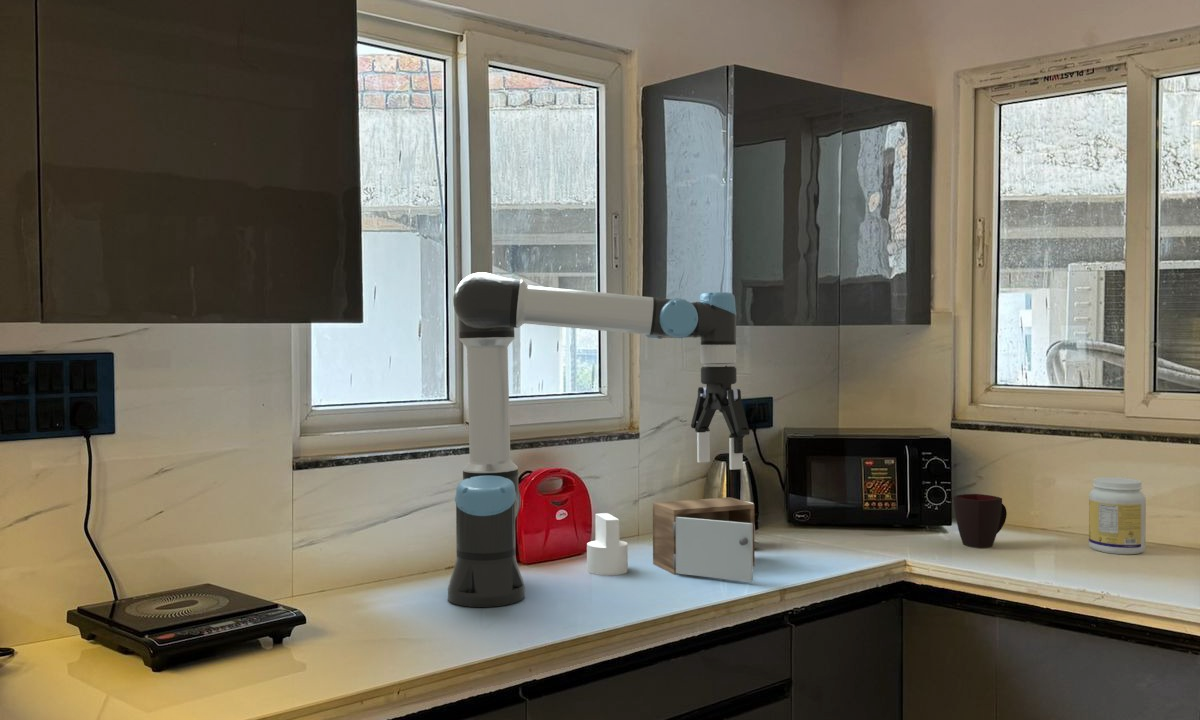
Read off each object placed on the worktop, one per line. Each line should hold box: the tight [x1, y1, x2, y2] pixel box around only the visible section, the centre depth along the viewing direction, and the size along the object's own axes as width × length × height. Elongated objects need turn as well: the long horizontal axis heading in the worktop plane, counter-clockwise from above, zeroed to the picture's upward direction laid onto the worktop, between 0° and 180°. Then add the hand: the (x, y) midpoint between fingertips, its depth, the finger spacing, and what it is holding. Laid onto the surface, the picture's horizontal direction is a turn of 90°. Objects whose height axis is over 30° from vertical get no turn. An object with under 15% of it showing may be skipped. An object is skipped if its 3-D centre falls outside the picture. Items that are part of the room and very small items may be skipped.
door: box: [673, 517, 754, 583], centre depth 212 cm, size 18×3×12 cm, turn 61°
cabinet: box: [652, 497, 756, 575], centre depth 227 cm, size 20×11×14 cm, turn 111°
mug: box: [953, 493, 1008, 549], centre depth 248 cm, size 10×14×12 cm
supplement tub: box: [1088, 476, 1147, 555], centre depth 241 cm, size 12×12×17 cm
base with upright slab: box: [586, 512, 629, 576], centre depth 222 cm, size 9×9×12 cm
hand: (719, 465), depth 213 cm, fingers open, 13 cm apart
